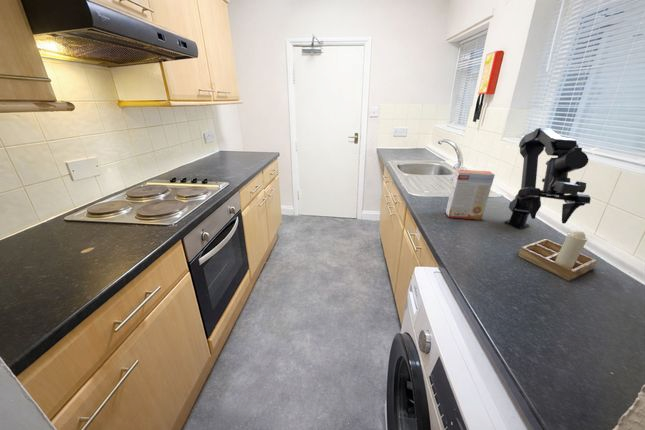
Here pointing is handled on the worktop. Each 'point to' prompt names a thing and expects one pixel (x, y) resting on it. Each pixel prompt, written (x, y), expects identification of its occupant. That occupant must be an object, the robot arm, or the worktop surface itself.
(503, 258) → the worktop surface
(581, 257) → the grid
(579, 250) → the dome-topped white cylinder
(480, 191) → the cracker box
